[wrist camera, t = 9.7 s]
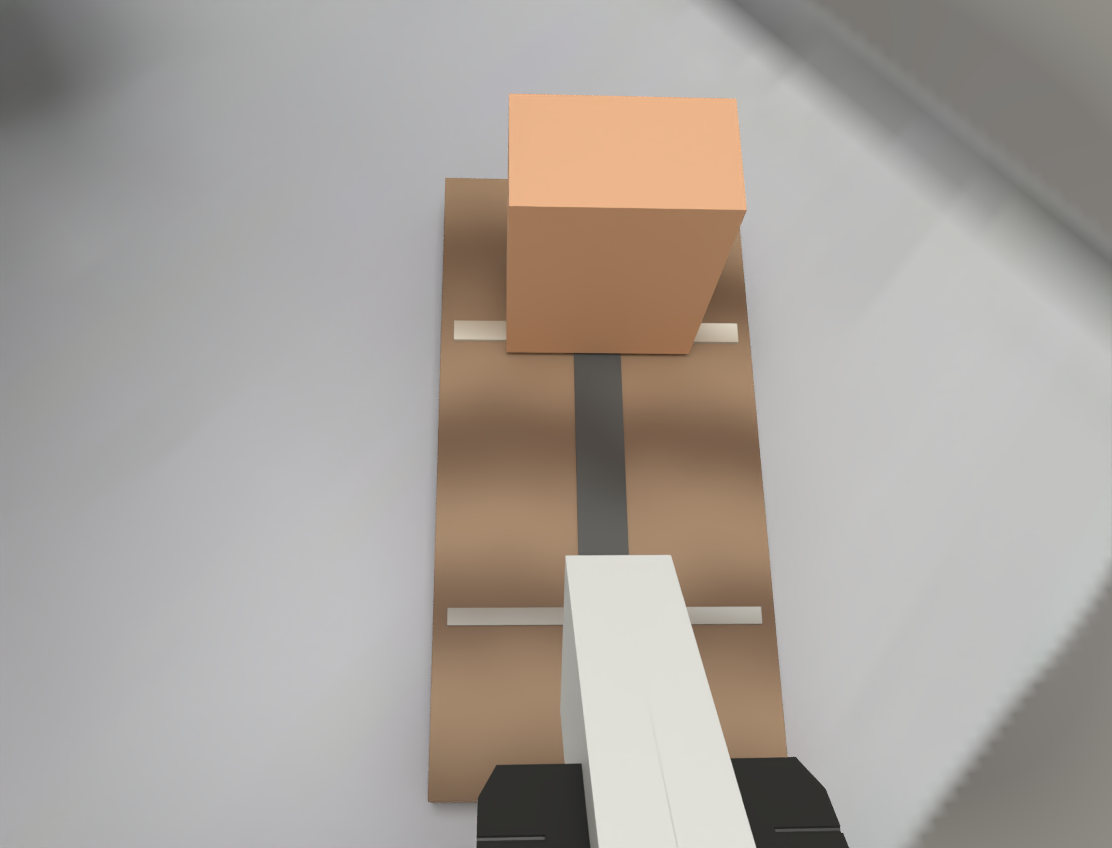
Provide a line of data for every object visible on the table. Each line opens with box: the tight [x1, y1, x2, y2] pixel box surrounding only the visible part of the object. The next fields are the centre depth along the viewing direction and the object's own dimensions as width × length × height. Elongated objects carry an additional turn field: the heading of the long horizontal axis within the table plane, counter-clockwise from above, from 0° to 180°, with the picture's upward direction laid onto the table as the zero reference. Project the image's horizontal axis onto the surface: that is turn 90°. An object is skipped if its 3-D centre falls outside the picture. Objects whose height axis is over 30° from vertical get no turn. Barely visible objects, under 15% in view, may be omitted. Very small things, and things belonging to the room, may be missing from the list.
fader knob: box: [506, 94, 747, 354], centre depth 36 cm, size 4×7×10 cm, turn 91°
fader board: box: [428, 178, 787, 803], centre depth 40 cm, size 24×12×3 cm, turn 1°
